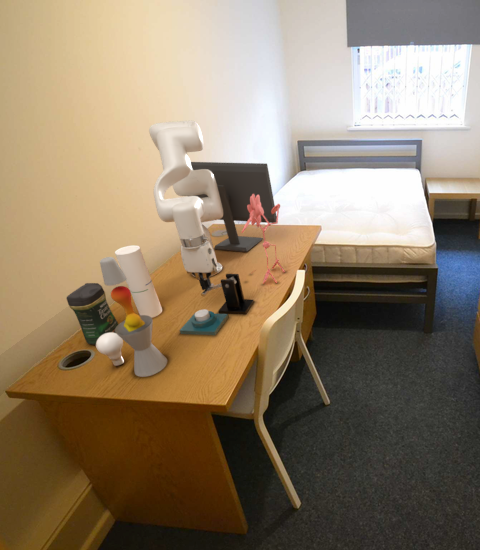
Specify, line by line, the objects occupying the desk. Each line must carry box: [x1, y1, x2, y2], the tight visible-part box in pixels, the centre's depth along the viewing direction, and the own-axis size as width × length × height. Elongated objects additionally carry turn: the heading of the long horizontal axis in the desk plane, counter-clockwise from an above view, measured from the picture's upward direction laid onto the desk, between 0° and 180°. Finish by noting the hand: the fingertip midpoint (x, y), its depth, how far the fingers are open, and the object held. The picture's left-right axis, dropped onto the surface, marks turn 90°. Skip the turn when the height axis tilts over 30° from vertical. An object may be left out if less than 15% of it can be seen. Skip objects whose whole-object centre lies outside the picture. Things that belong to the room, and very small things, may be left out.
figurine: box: [241, 194, 286, 285], centre depth 144 cm, size 15×26×35 cm, turn 171°
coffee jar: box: [66, 282, 119, 346], centre depth 115 cm, size 10×8×19 cm
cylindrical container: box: [114, 244, 163, 319], centre depth 125 cm, size 7×7×25 cm
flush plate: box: [179, 310, 229, 336], centre depth 122 cm, size 12×10×4 cm
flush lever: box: [200, 276, 237, 298], centre depth 128 cm, size 12×7×2 cm, turn 85°
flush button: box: [194, 308, 210, 322], centre depth 121 cm, size 4×4×2 cm
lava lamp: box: [99, 256, 168, 378], centre depth 98 cm, size 9×9×35 cm
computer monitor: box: [190, 161, 279, 253], centre depth 172 cm, size 44×16×40 cm, turn 77°
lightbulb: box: [95, 332, 125, 367], centre depth 105 cm, size 6×6×11 cm
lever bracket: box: [217, 273, 255, 316], centre depth 129 cm, size 10×8×13 cm
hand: (206, 288), depth 129 cm, fingers closed
